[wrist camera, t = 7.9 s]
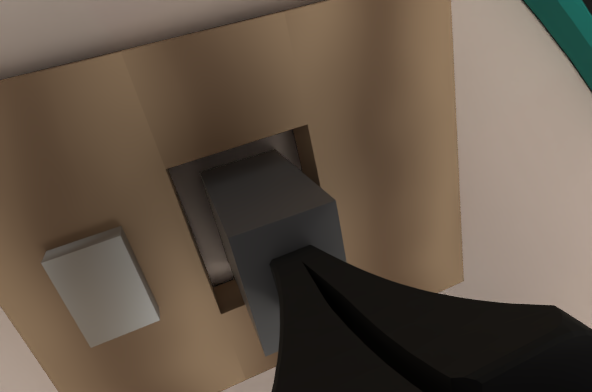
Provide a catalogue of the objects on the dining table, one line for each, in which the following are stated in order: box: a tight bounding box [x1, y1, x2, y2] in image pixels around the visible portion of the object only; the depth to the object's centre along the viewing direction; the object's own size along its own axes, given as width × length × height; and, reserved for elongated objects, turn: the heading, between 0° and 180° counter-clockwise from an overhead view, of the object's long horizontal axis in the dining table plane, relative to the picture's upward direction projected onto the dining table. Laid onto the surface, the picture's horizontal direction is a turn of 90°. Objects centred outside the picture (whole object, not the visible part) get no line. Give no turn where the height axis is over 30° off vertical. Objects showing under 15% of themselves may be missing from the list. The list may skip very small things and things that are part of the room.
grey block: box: [200, 149, 347, 357], centre depth 15 cm, size 3×4×6 cm
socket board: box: [0, 0, 464, 392], centre depth 16 cm, size 18×14×3 cm
